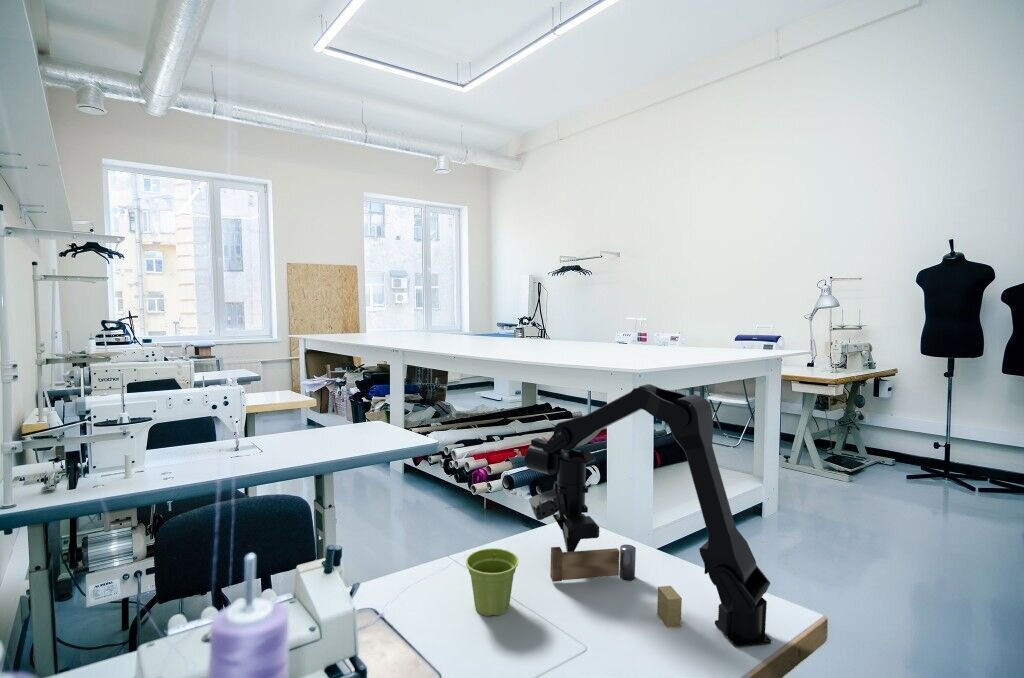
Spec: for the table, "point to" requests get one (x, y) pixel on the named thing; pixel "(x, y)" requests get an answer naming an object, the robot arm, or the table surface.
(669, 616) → the block
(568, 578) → the wooden t-bar
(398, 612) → the table surface
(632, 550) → the grey metal cylinder
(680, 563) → the table surface
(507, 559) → the plant pot
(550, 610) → the table surface
